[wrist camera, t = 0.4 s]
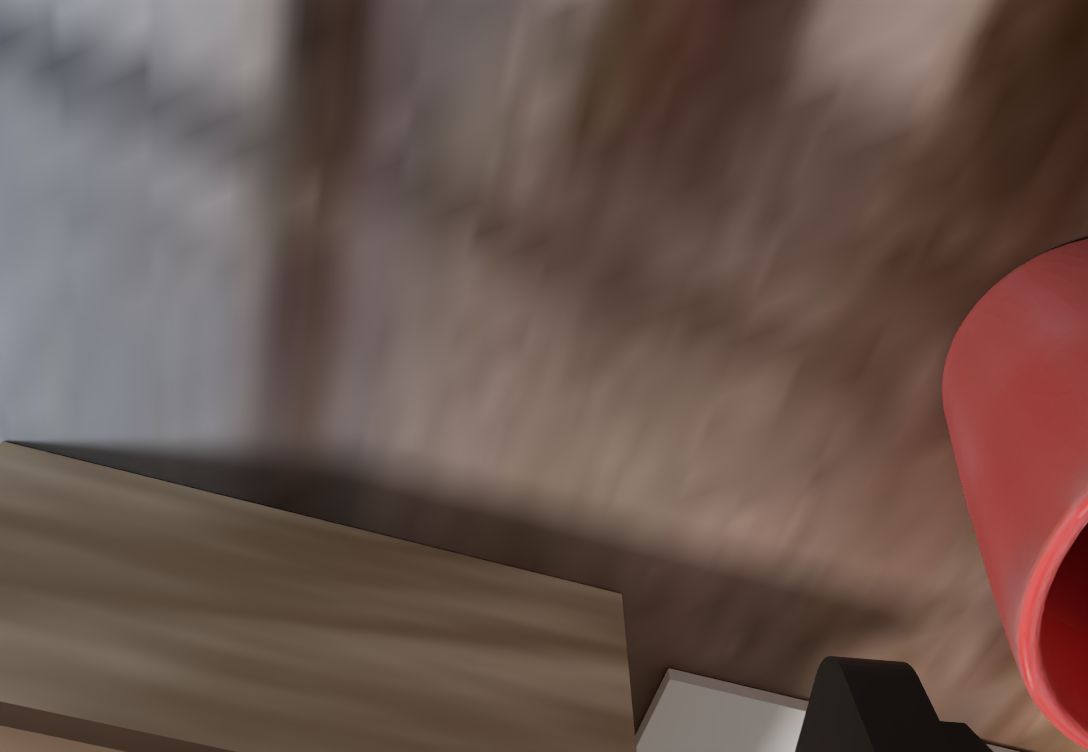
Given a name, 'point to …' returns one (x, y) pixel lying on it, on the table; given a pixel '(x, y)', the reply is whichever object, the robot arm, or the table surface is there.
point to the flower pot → (1031, 468)
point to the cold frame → (279, 631)
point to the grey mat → (721, 718)
